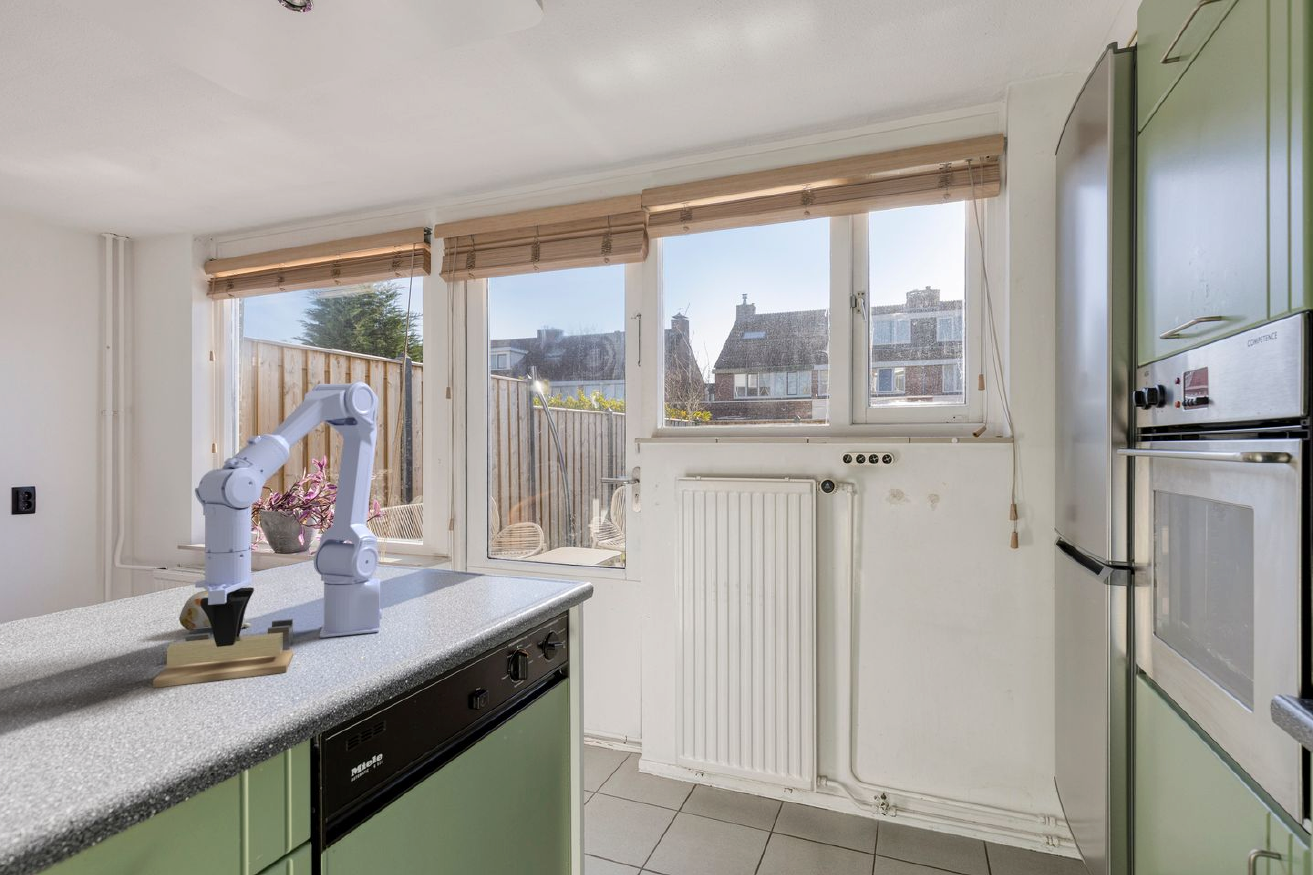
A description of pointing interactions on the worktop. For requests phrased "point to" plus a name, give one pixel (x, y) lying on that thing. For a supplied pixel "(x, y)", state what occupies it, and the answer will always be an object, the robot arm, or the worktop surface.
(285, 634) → the post
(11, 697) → the worktop surface
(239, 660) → the board
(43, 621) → the worktop surface
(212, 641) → the rail
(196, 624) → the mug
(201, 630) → the post
